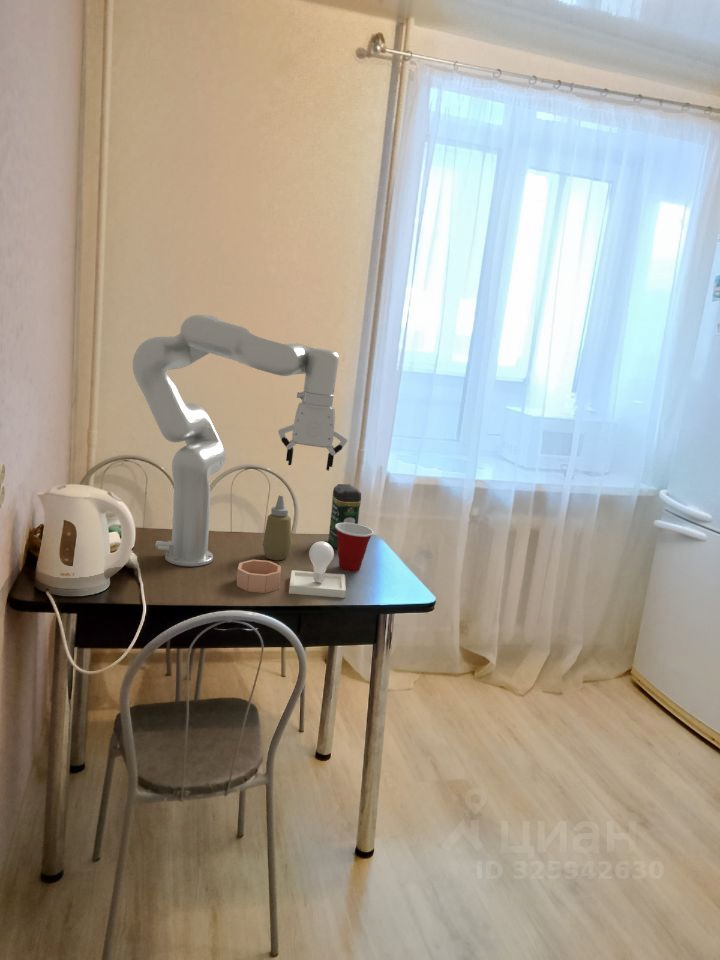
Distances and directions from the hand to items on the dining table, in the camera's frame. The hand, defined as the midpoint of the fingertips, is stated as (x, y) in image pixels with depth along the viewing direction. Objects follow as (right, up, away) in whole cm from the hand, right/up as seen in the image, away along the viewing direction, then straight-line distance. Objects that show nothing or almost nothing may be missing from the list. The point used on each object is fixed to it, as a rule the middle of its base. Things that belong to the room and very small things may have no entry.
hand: (308, 466), depth 183 cm
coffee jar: (+7, -23, +38) cm, 46 cm away
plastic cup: (+10, -28, +19) cm, 36 cm away
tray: (+2, -31, +3) cm, 31 cm away
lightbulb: (+2, -30, +3) cm, 30 cm away
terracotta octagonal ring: (-13, -30, +1) cm, 32 cm away
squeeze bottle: (-11, -25, +22) cm, 35 cm away
